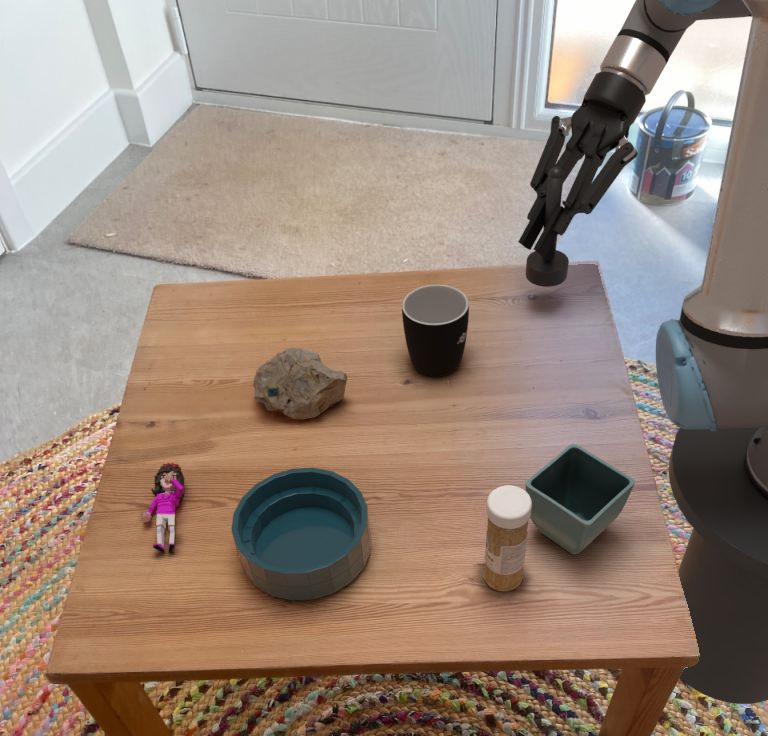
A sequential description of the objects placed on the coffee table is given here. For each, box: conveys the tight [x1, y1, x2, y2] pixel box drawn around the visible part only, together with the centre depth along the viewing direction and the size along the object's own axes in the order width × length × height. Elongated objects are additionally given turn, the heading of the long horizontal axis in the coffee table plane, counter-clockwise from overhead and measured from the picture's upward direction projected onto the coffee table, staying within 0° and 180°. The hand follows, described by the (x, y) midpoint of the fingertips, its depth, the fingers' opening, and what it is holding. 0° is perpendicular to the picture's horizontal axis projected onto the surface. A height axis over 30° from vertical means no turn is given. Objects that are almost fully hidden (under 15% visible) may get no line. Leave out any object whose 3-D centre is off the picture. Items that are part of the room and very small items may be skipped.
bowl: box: [231, 467, 372, 601], centre depth 98 cm, size 15×15×6 cm
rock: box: [252, 347, 348, 420], centre depth 113 cm, size 12×7×10 cm, turn 76°
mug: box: [401, 284, 470, 378], centre depth 117 cm, size 12×9×10 cm
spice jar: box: [482, 484, 532, 592], centre depth 90 cm, size 5×5×14 cm
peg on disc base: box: [525, 167, 570, 288], centre depth 117 cm, size 6×6×16 cm
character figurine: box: [141, 462, 185, 554], centre depth 103 cm, size 6×5×12 cm
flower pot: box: [524, 443, 636, 555], centre depth 96 cm, size 9×9×9 cm
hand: (531, 249), depth 117 cm, fingers closed on peg on disc base, 2 cm apart
